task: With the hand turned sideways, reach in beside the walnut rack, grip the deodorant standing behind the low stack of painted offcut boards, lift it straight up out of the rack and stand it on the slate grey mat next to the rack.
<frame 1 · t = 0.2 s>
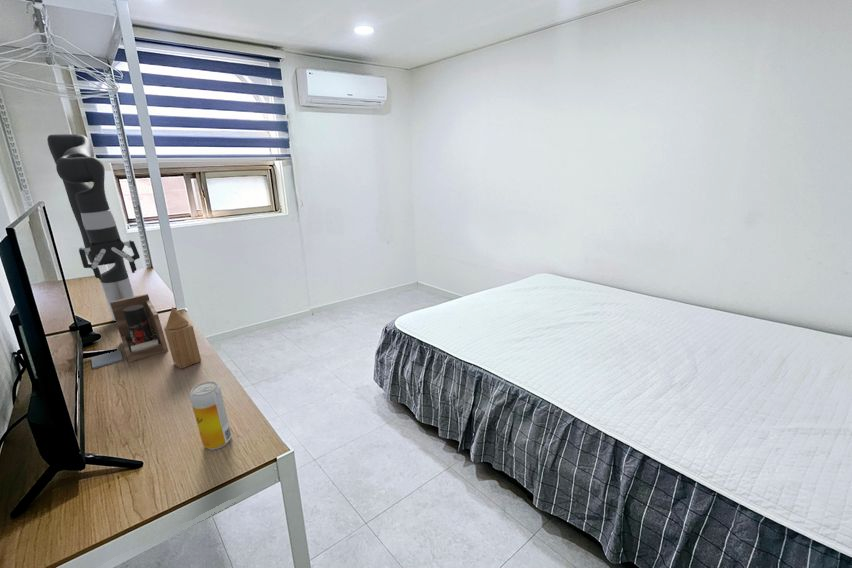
hand: (117, 275, 126), 29 cm above the table, tool pointing down, fingers open, 8 cm apart
mat: (107, 359, 133), on the table
beer can: (218, 442, 93), on the table
deodorant: (145, 346, 141), resting in rack
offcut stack: (147, 352, 137), resting in rack
decorative item: (187, 363, 129), on the table
rack: (144, 346, 141), on the table
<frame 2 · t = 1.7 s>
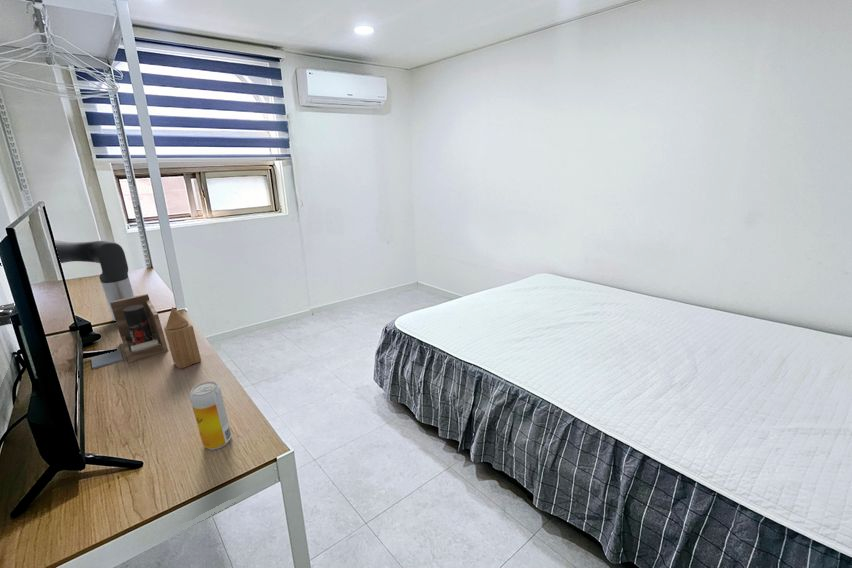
hand: (41, 307, 121), 22 cm above the table, tool horizontal, fingers open, 8 cm apart
nothing on the table moved.
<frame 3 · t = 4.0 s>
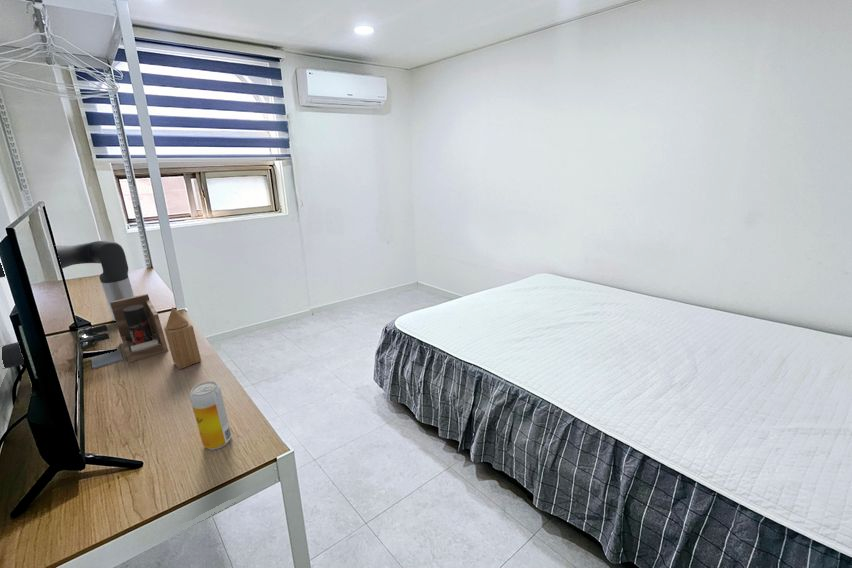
hand: (107, 331, 133), 9 cm above the table, tool horizontal, fingers open, 8 cm apart
nothing on the table moved.
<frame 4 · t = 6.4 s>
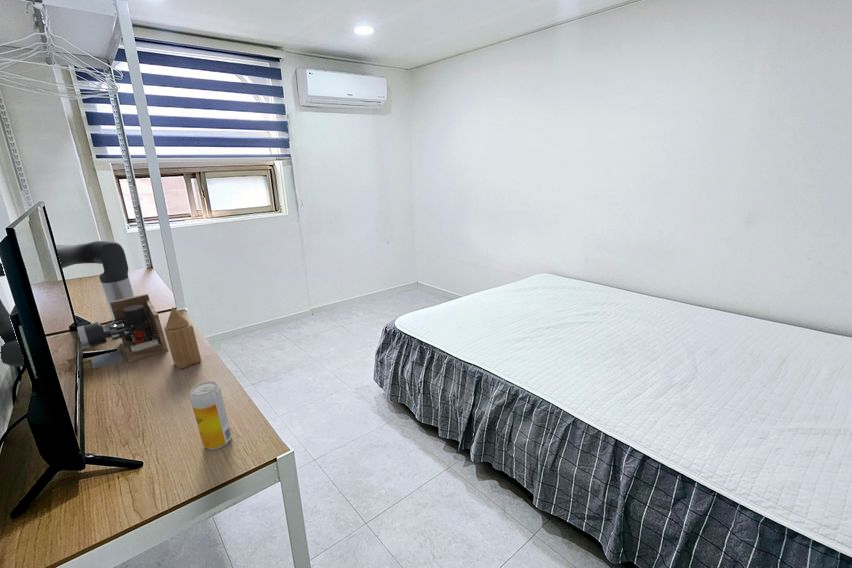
hand: (146, 321, 140), 9 cm above the table, tool horizontal, fingers closed on deodorant, 6 cm apart
deodorant: (144, 346, 141), resting in rack, touching gripper
everything else where it was.
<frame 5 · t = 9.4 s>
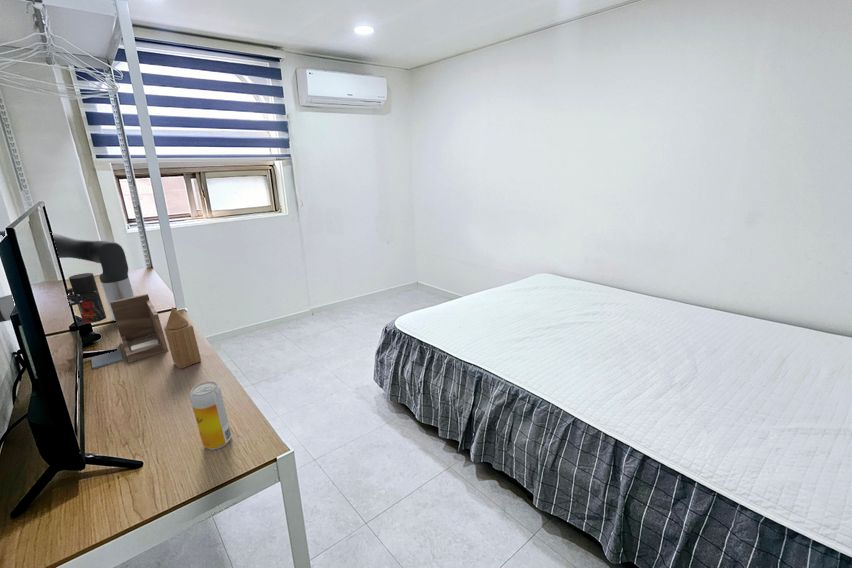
hand: (96, 291, 127), 24 cm above the table, tool horizontal, fingers closed on deodorant, 6 cm apart
deodorant: (95, 320, 128), point 15 cm above the table, touching gripper
everything else where it was.
when the fingers open (11 cm above the table, at t = 12.5 s): deodorant stays where it is, resting on mat.
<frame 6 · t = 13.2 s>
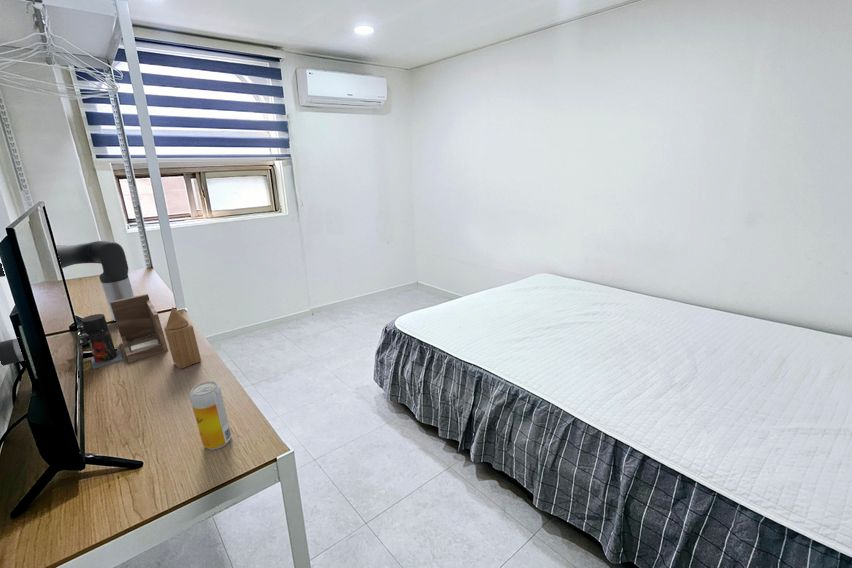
hand: (103, 328, 130), 11 cm above the table, tool horizontal, fingers open, 8 cm apart
deodorant: (106, 358, 133), resting on mat
everything else where it was.
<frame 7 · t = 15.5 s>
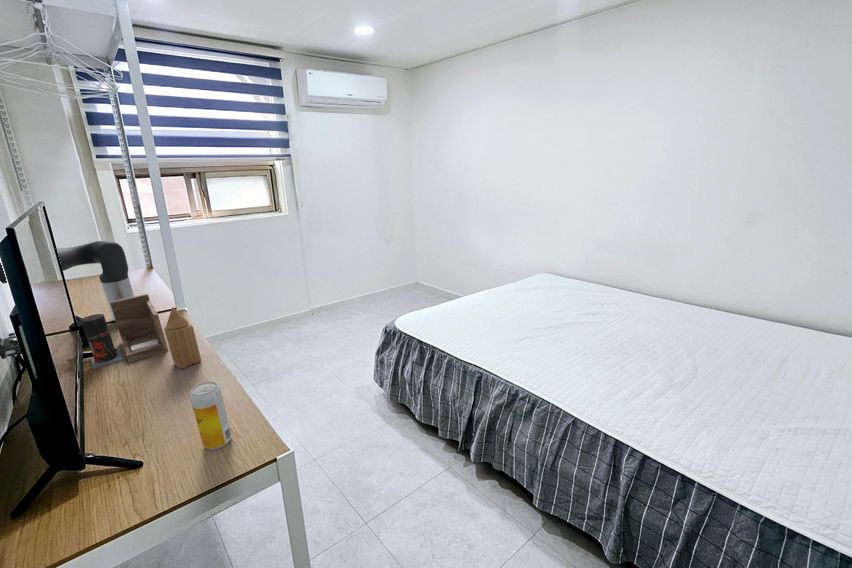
hand: (54, 333, 123), 13 cm above the table, tool horizontal, fingers open, 8 cm apart
nothing on the table moved.
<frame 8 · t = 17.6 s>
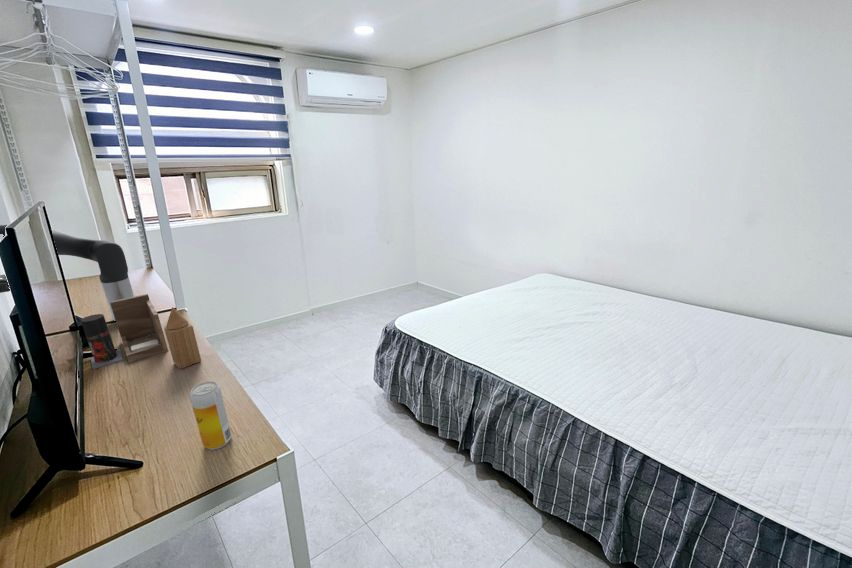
hand: (40, 276, 123), 30 cm above the table, tool horizontal, fingers open, 8 cm apart
nothing on the table moved.
at the end: deodorant inside the target area (0.1 cm from its centre), resting on mat; deodorant tilted 0°; the gripper is holding nothing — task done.
